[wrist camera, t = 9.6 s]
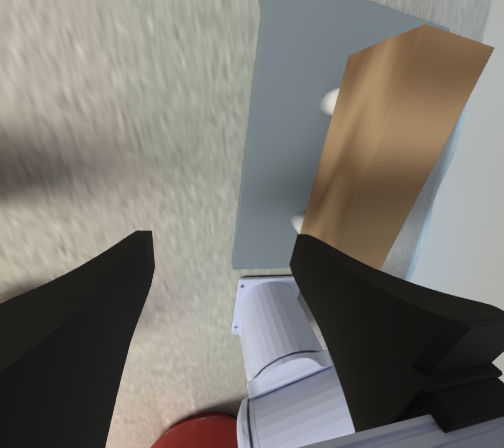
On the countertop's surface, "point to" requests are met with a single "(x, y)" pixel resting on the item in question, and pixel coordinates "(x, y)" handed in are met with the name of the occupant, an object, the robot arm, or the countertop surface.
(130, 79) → the countertop surface
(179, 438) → the mixing bowl
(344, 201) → the wooden block
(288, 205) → the peg rack
